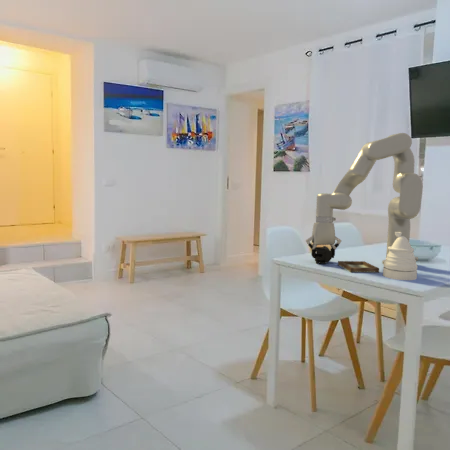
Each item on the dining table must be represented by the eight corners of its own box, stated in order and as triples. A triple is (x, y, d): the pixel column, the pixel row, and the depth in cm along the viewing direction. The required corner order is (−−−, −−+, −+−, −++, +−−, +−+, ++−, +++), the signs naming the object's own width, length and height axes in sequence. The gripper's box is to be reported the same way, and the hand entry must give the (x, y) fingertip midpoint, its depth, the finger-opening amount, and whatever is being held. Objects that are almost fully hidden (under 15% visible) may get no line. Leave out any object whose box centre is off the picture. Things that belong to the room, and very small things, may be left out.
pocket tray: (364, 265, 203) (364, 261, 203) (378, 272, 188) (379, 268, 188) (337, 264, 202) (338, 261, 202) (350, 272, 187) (350, 268, 187)
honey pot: (376, 275, 183) (379, 231, 181) (394, 272, 190) (397, 230, 188) (404, 281, 172) (407, 235, 170) (423, 278, 180) (426, 234, 178)
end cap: (332, 263, 202) (332, 249, 201) (316, 263, 202) (316, 248, 202) (329, 259, 212) (329, 245, 211) (314, 259, 212) (314, 245, 212)
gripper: (339, 219, 210) (338, 256, 211) (303, 219, 208) (302, 256, 210) (345, 221, 202) (344, 258, 204) (308, 221, 201) (306, 259, 202)
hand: (323, 257), depth 207 cm, fingers closed on end cap, 8 cm apart
